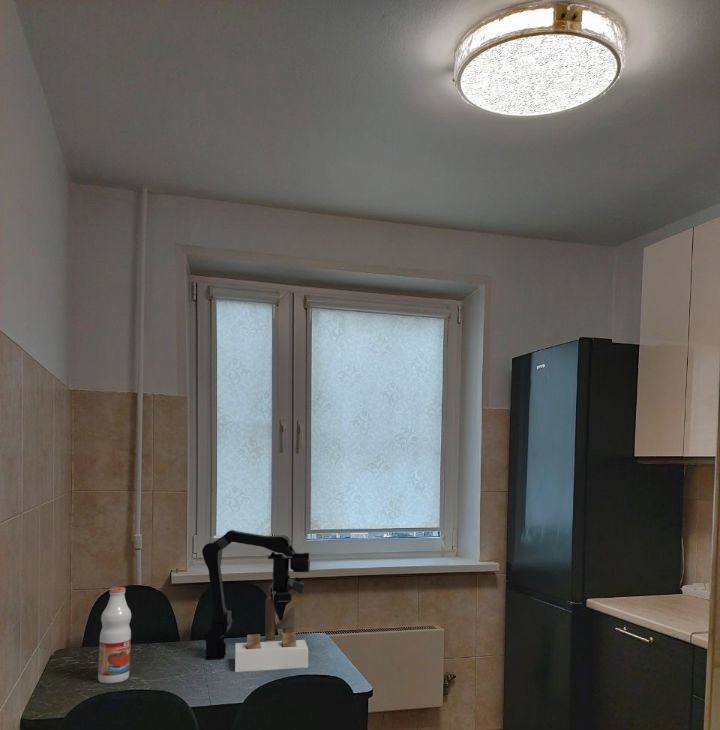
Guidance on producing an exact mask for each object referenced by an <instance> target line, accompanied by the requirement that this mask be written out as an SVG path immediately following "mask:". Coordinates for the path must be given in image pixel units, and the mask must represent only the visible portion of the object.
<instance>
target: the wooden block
mask: <svg viewBox="0 0 720 730" xmlns="http://www.w3.org/2000/svg"><path fill="white" fill-rule="evenodd" d="M264 625H265V628H264V629H265V631H264V632H265V633H264V637H265V638H263V642H270V641H282V636H281V637H280V636H276V630H282V633H294V632H295V607H294V606H291V607H290V608H289V609H288V610H287V611H286V612H285V613H284V615H283V619H282V620H279V619H278V621H277V623H276V611H275V608H274V605H273V602H272V599H271V597H267V598H265V623H264Z"/></svg>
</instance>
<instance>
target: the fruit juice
mask: <svg viewBox="0 0 720 730" xmlns="http://www.w3.org/2000/svg"><path fill="white" fill-rule="evenodd" d="M126 590H127V589H126V587H125V586H114V587H110V588H109V595H110V596H109V599H108V602H107V605H106V607H105V608H104V610H103V611H102V614H101V616H100V621H101V625H102V627H101V631H100V632H99V633H100V635H99V649H98V650H99V651H98V653H99V654H98V668H97V680H98V682H99V683H101V684H116V683H117V684H118V683H121V682H125V681H126V680H128V679H129V677H130V670H131V669H130V663H131V643H132V642H131V641H132V640H131V639H132V630H131V627H130V623H131V619H132V612H131V609H130V608H129V606H128V603H127V601H126V595H125V594H126Z"/></svg>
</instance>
